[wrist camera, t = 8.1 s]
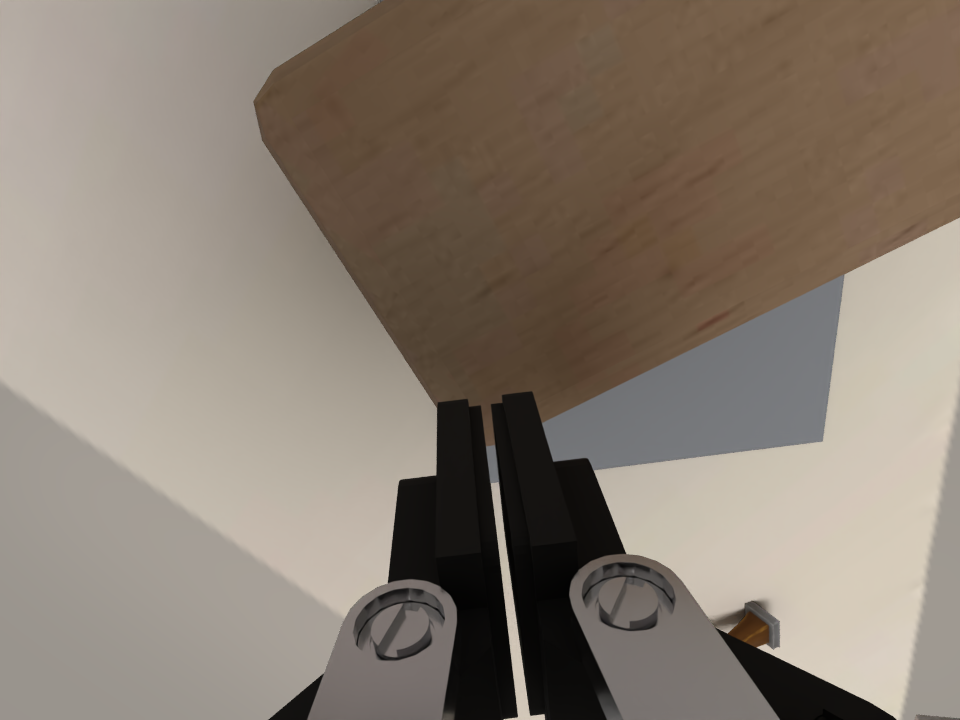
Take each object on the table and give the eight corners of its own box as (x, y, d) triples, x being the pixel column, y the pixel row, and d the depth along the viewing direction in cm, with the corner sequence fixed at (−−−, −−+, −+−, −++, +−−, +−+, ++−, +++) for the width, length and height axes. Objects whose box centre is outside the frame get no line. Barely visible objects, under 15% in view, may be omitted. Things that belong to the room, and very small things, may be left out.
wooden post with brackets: (593, 644, 32) (655, 713, 28) (712, 570, 34) (783, 623, 30) (598, 669, 32) (658, 739, 28) (713, 595, 35) (783, 650, 31)
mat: (374, -37, 20) (374, -38, 20) (887, -98, 20) (893, -100, 20) (454, 483, 28) (454, 487, 28) (818, 437, 28) (822, 441, 28)
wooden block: (469, 476, 16) (1328, 58, 13) (216, 95, 12) (1353, -621, 9) (459, 332, 25) (958, 68, 22) (314, 90, 21) (894, -267, 18)
